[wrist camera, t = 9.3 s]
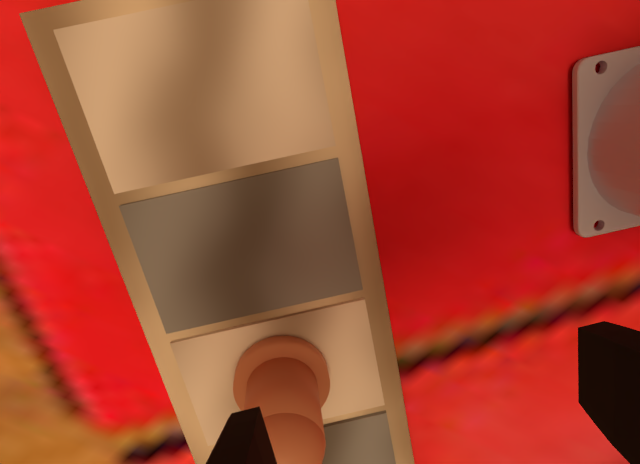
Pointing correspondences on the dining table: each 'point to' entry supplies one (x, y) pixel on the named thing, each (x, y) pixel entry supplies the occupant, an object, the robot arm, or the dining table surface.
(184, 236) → the board
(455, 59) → the dining table surface
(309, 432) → the pawn
